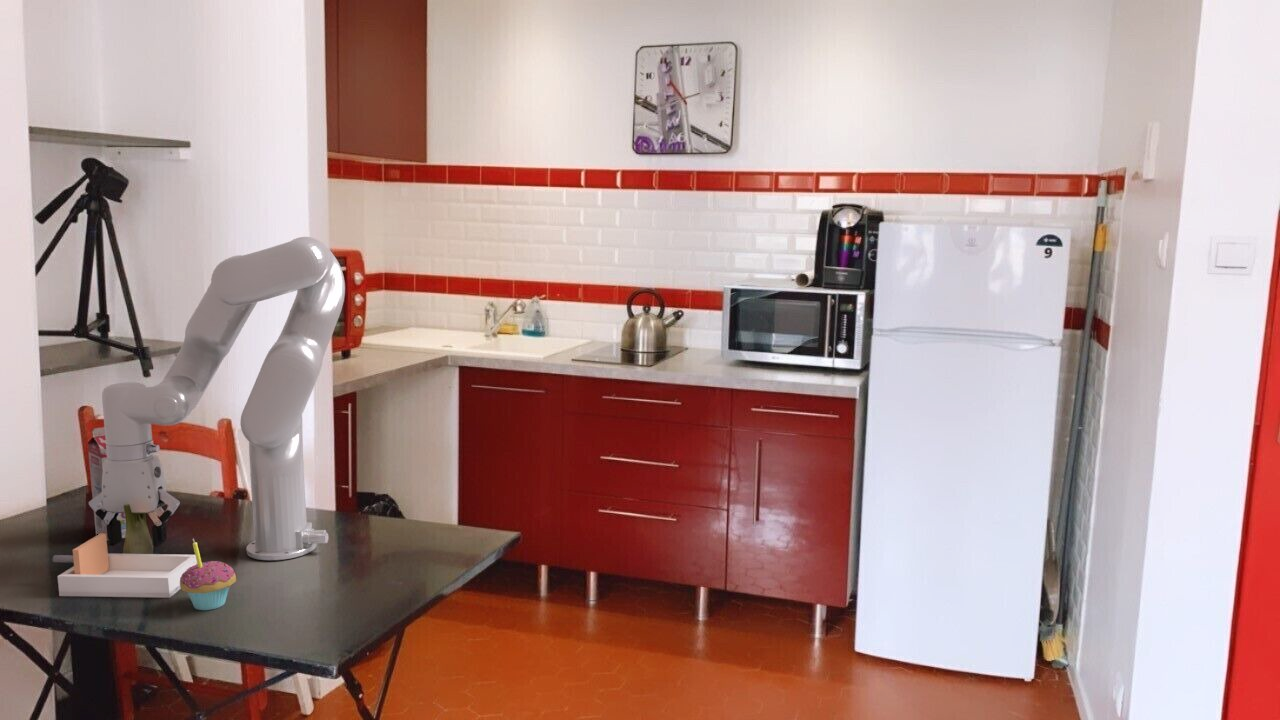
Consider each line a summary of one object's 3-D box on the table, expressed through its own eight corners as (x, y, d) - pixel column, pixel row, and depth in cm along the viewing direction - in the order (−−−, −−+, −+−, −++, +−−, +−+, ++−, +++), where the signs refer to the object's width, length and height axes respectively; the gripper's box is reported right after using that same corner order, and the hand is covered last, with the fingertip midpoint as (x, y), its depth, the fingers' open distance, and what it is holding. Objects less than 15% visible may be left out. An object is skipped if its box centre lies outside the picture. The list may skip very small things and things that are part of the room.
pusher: (109, 568, 181) (105, 533, 180) (81, 587, 173) (78, 550, 172) (70, 568, 182) (67, 532, 180) (41, 586, 173) (37, 549, 172)
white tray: (200, 573, 182) (198, 554, 182) (169, 597, 171) (168, 577, 171) (96, 571, 183) (94, 553, 182) (59, 595, 172) (57, 576, 171)
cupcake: (202, 619, 163) (196, 547, 161) (170, 607, 167) (164, 538, 165) (248, 601, 170) (243, 532, 168) (216, 590, 174) (211, 523, 172)
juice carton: (96, 533, 203) (86, 426, 200) (130, 525, 208) (121, 420, 204) (108, 541, 199) (98, 431, 195) (143, 533, 204) (134, 426, 200)
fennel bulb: (145, 554, 192) (140, 493, 190) (162, 559, 189) (157, 496, 187) (116, 564, 187) (111, 501, 185) (133, 568, 184) (127, 505, 182)
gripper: (187, 446, 188) (193, 537, 191) (94, 445, 189) (102, 536, 192) (166, 457, 181) (174, 551, 184) (70, 455, 181) (79, 550, 184)
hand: (137, 543), depth 188 cm, fingers open, 7 cm apart
